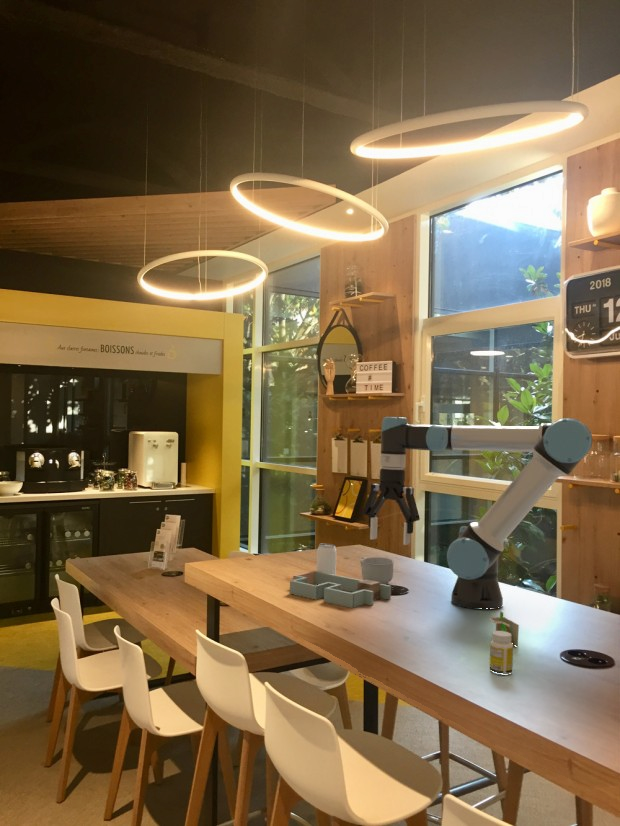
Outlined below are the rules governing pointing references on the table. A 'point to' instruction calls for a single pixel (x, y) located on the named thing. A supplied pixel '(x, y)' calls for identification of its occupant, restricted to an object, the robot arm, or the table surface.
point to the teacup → (377, 569)
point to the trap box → (334, 589)
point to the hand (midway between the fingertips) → (389, 541)
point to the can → (326, 558)
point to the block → (370, 587)
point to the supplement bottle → (501, 652)
